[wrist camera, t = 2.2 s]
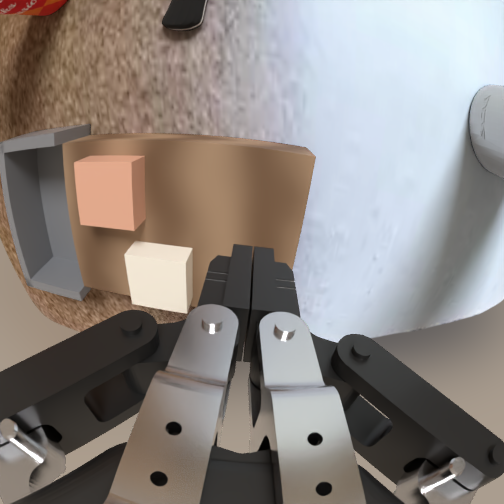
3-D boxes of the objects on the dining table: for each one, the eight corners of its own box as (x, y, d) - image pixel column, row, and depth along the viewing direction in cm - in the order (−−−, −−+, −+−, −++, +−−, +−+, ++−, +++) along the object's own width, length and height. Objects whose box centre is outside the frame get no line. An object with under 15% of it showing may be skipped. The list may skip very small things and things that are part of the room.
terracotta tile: (144, 155, 16) (131, 162, 14) (145, 218, 18) (134, 230, 17) (90, 155, 16) (73, 162, 14) (94, 213, 18) (80, 224, 16)
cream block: (192, 248, 19) (185, 263, 18) (192, 296, 22) (187, 313, 20) (135, 240, 19) (124, 254, 17) (141, 288, 21) (132, 303, 20)
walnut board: (306, 147, 19) (315, 156, 16) (278, 288, 26) (280, 317, 22) (90, 135, 19) (62, 143, 15) (102, 263, 25) (84, 286, 22)
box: (90, 124, 18) (53, 132, 14) (104, 271, 26) (81, 301, 21) (32, 131, 18) (-3, 143, 14) (51, 260, 26) (27, 285, 21)
